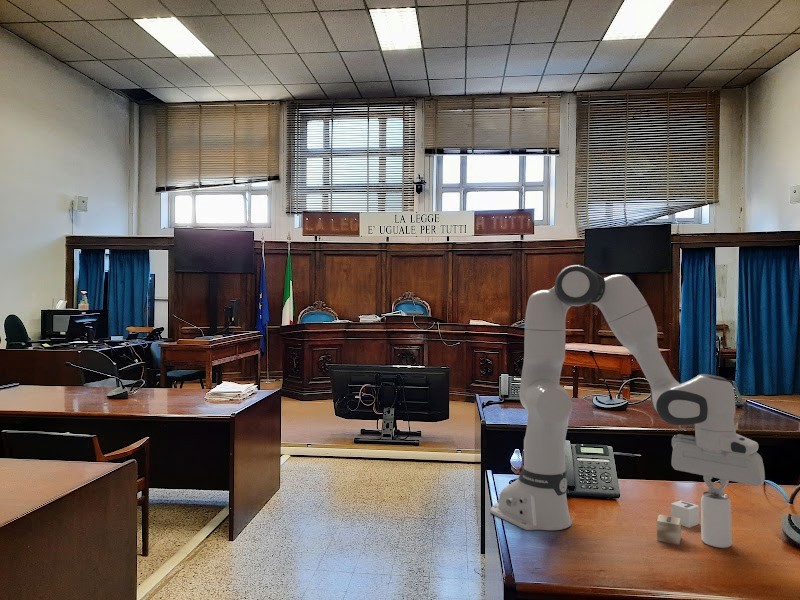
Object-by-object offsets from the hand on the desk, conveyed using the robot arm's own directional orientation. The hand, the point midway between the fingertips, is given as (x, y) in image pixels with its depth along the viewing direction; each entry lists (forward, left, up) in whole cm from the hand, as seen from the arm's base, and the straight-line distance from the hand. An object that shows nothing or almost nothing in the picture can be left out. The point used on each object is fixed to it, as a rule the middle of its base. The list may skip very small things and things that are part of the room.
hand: (716, 495), depth 133 cm
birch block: (-9, -6, -12) cm, 16 cm away
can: (0, 0, -12) cm, 12 cm away
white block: (-10, +8, -12) cm, 18 cm away
